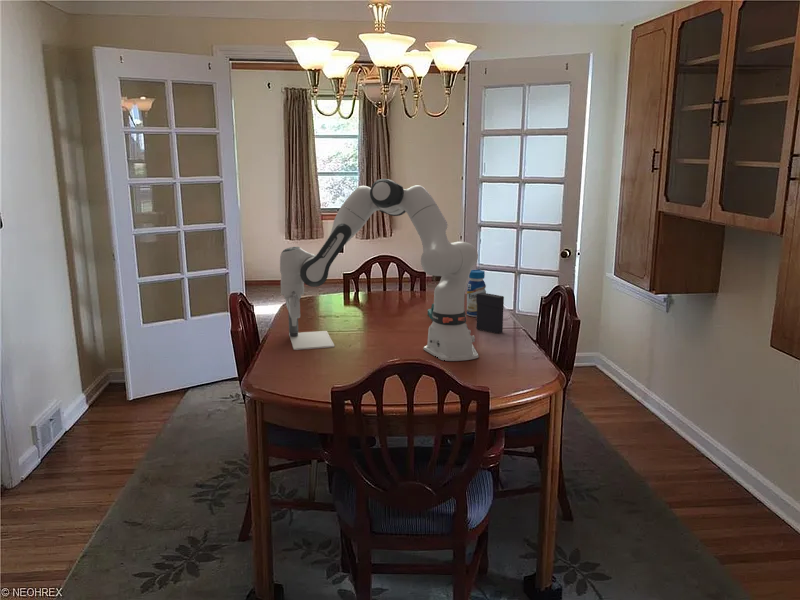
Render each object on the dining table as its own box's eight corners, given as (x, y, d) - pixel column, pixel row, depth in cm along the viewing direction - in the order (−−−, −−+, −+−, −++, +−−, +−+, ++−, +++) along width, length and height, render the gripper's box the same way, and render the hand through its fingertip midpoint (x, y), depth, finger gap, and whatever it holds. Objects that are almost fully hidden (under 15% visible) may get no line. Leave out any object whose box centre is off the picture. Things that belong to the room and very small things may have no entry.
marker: (299, 336, 247) (298, 306, 245) (289, 336, 247) (288, 306, 244) (298, 333, 251) (297, 304, 248) (288, 334, 250) (287, 304, 247)
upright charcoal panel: (503, 332, 257) (505, 295, 254) (497, 334, 254) (499, 297, 251) (481, 327, 265) (482, 291, 261) (475, 329, 261) (476, 293, 258)
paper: (334, 347, 237) (334, 345, 236) (293, 350, 233) (293, 348, 233) (326, 332, 256) (326, 330, 256) (289, 334, 253) (288, 333, 253)
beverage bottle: (484, 312, 289) (485, 269, 284) (486, 317, 281) (487, 272, 276) (465, 312, 289) (466, 269, 285) (466, 317, 281) (468, 272, 276)
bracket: (449, 323, 272) (449, 305, 270) (434, 323, 271) (434, 305, 269) (441, 312, 289) (441, 296, 288) (426, 313, 288) (426, 296, 287)
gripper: (303, 294, 236) (304, 330, 239) (298, 283, 255) (299, 317, 258) (286, 295, 234) (287, 331, 237) (282, 284, 253) (283, 318, 256)
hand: (293, 324), depth 248 cm, fingers closed on marker, 4 cm apart
